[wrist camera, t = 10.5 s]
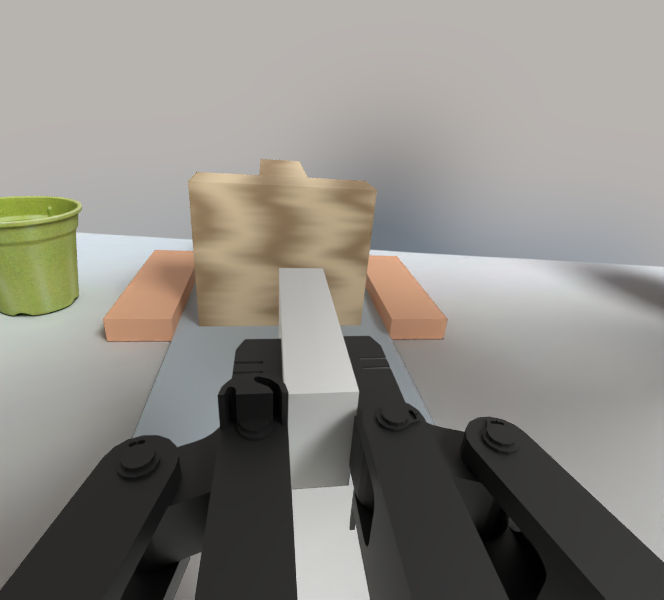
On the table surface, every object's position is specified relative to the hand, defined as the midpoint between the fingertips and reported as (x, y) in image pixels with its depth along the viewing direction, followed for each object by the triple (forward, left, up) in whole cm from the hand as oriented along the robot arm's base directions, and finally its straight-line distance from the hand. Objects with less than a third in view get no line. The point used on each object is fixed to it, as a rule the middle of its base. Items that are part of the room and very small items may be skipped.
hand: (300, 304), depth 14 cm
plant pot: (+22, -24, -12) cm, 34 cm away
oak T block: (0, -26, -11) cm, 28 cm away
